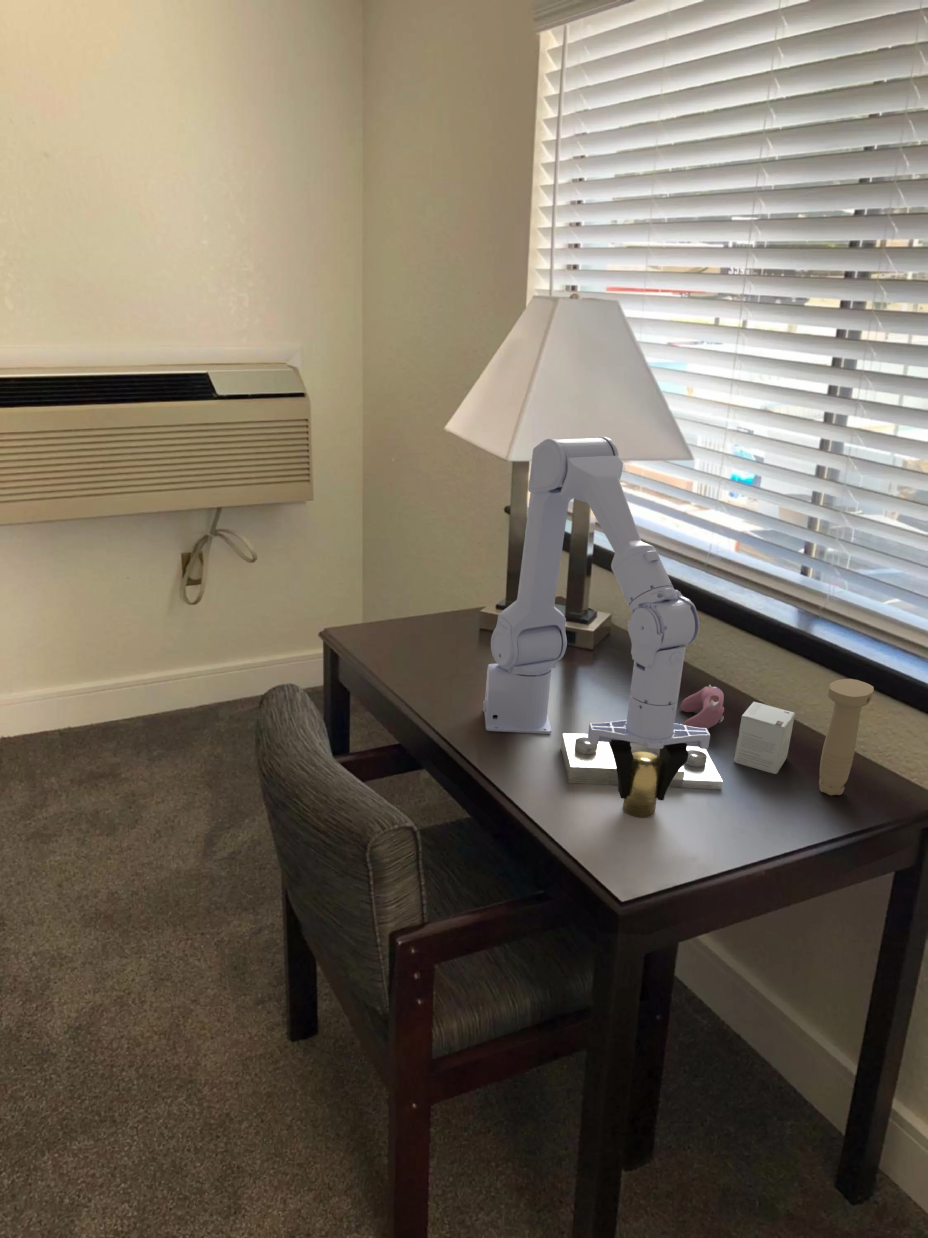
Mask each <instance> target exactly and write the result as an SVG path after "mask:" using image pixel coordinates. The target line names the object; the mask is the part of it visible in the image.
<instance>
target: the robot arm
mask: <svg viewBox="0 0 928 1238" xmlns="http://www.w3.org/2000/svg"><path fill="white" fill-rule="evenodd" d="M530 464H531V466H530V472H529V481H528V489H527V491H528V492H529V493H530V494H529V499H528V501H529V502H528V508H527V509H528V510H527V518H526V524H525V525H526V526H525V535H524V539H523V540H524V542H523V550H522V559H521V564H520V573H519V581H518V582H519V583H518V588H517V589H518V590H517V598H516V600H514V601H513V602H512V603H511V604H510V605H508V606H507V607H506V608H504V609H503V610H502V611H501V612H499V614H498V615H497V620H496V621H497V622H496V626H495V628H494V629H493V632H492V634H491V637H490V650H491V651H490V652H491V654H492V657H493V659H494V661H495V662H496V663H489V664H487V668H486V669H487V670H486V682H485V683H486V684H485V696H484V697H485V698H484V700H483V702H482V704H483V705H482V711H483V713H484V720H485V721H484V723H485V730H486V731H488V732H500V733H501V732H503V733H520V734H521V733H527V734H544V735H545V734H546V735H548V734H549V735H551V734H552V727H551V721H550V716H549V713H548V710H549V702H550V701H549V698H550V688H551V678H552V670H553V669H556V668H557V662H558V661H560V660H561V659H562V658H563V657H564V655H565V654H566V649H567V646H568V645H567V644H568V640H567V639H568V638H567V635H566V634H567V633H566V624H567V623H566V621H567V618H566V617H565V615H564V614H563V613H562V611H561V610H560V609H558V608H557V607H556V606H555V604H556V603H555V602H556V596H557V588H558V581H559V576H560V575H559V574H560V568H561V562H562V560H561V559H562V552H563V545H564V540H565V539H564V538H565V531H566V527H567V526H566V524H567V517H568V510H569V503H570V502H571V500H576V501H577V500H578V501H580V502H584V503H587V505H588V506H589V508H590V510H591V512H592V514H593V515H594V517H595V519H596V520H597V522H598V525H599V526H600V528H601V530H602V531H603V533H604V535H605V537H606V539H607V541H608V543H609V544H610V546H611V548H612V549H613V551H614V554H613V558H612V561H611V564H610V567H611V571H612V573H613V575H614V577H615V579H616V582H617V583H618V586H619V589H620V590H621V593H622V596H623V597H624V599H625V602H626V603H627V607H628V609H629V611H630V613H631V617H630V618H628V619H627V632H628V637H629V639H630V641H631V650H630V655H631V659H632V661H633V668H632V676H631V683H630V684H631V685H630V691H629V693H630V694H629V699H628V700H629V701H628V708H627V716H626V719H622V720H616V721H615V720H612V721H607V722H605V721H604V722H589V725H588V733H587V734H588V738H589V742H590V744H599V742H609V745H610V747H611V750H612V753H613V756H614V760H615V764H616V769H617V775H618V785H617V786H618V789H617V790H618V795H619V798H620V799H623V800H624V799H627V794H628V781H629V774H630V769H631V765H632V761H633V755H632V752H631V746H630V743H637V744H644V745H646V747H647V748H653V749H660V755H659V757H660V758H661V760H662V765H661V772H660V780H659V787H658V794H657V800H658V801H664V799H665V796H666V793H667V791H668V789H669V788H670V787H669V785H670V783H671V781H672V779H673V778H674V776H675V775H676V773H677V772H678V771H679V769H680V768H681V767H682V766H683V765H684V764H685V763H686V761H687V759H688V752H687V750H686V749H687V746H688V747H699V748H700V749H706V750H708V749H709V745H710V740H711V734H710V732H709V729H706V728H698V727H691V726H686V725H682V724H681V723H680V724H679V723H675V722H676V717H677V716H676V715H677V708H678V701H679V697H680V696H679V695H680V690H681V689H680V688H681V681H682V673H683V668H684V667H683V666H684V659H685V653H686V648H687V647H686V646H688V645H692V643H694V642H695V641H696V639H697V638H698V635H699V633H700V618H699V614H698V611H697V607H696V606H695V604H694V602H692V601H691V599H689V598H687V597H685V596H684V595H683V594H682V593H681V590H680V591H679V590H678V589H675V588H674V585H673V584H672V581H671V580H670V578H669V575H668V573H667V570H666V568H665V566H664V564H663V562H662V560H661V557H660V555H659V553H658V552H657V549H656V547H655V546H654V545H652V544H650V543H646V542H644V541H642V539H641V537H640V534H639V531H638V529H637V525H636V523H635V520H634V517H633V514H632V512H631V509H630V506H629V503H628V501H627V498H626V495H625V491H624V490H623V487H622V484H621V481H620V480H621V477H622V474H623V467H624V466H623V465H624V462H623V461H622V459H621V457H620V454H619V449H618V448H617V445H616V443H615V442H614V441H613V440H612V439H611V438H609V437H608V436H607V437H606V436H598V437H595V438H591V437H590V438H589V437H588V438H566V439H565V438H564V439H561V438H559V439H555V438H547V439H543V440H542V441H541V442H540V443H539V444H537V445H536V446H534V447H533V449H532V457H531V463H530Z"/></svg>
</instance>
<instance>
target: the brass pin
mask: <svg viewBox="0 0 928 1238" xmlns="http://www.w3.org/2000/svg"><path fill="white" fill-rule="evenodd" d="M632 755H633V761H632V765H631V769H630V774H629V781H628V794H627V799H623V804H622V809H623V810H624V812H625V813H627V814H628V815H630V816H634V817H636V818H649V817H652V816H653V815H654V814H655V813H656V807H657V800H658V799H657V794H658V787H659V780H660V772H661V765H662V760H661V758H660V757H659V756H657V755H655V754H652V753H649V752H634V753H632Z"/></svg>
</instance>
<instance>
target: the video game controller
mask: <svg viewBox="0 0 928 1238" xmlns="http://www.w3.org/2000/svg"><path fill="white" fill-rule="evenodd" d="M724 697H725V695H724V692H723V691H722V689H720V688H719V687H717V686H712V685H711V684H709V685H708V686H704V687H703V688H701V689H700V690H699V691H697V692H695V693H693V694H691V695H688V697H687V696H686V697H685V698H684V699H683V700H682V701H681V703H680V709H681V710H682V712H685V713H693V712H694V713H695V712H698V711H699V712H698V713H697V714H695V715H694V716H691V717H690V718H688V719H686V720H685V721H684V722H683V723H682V724H681V725H686V726H691V727H698V728H706V729H707V730H709V729H710V728H712V727H715V726H716V724H718V723H719V724H720V723H722V722H723V720H724V715H723V714H724V712H725V707H724V700H725V699H724Z"/></svg>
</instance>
